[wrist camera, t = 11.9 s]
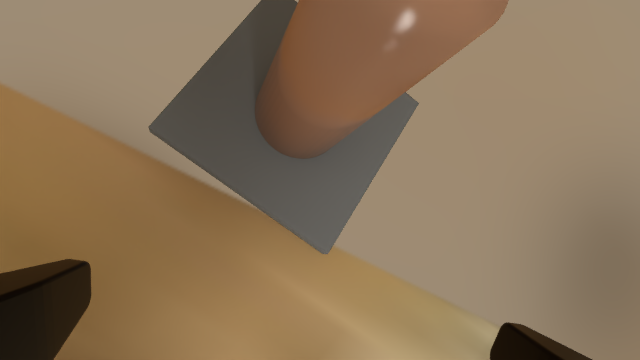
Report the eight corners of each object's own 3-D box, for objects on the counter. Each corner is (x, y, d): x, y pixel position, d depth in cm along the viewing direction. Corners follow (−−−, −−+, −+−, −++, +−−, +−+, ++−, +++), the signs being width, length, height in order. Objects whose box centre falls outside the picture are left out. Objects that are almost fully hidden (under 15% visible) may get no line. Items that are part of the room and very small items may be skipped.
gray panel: (322, 254, 21) (327, 253, 21) (149, 131, 20) (148, 126, 19) (412, 107, 25) (418, 103, 24) (272, -7, 23) (275, -16, 22)
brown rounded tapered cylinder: (279, 172, 21) (399, 63, 9) (239, 87, 21) (305, -129, 9) (356, 139, 22) (539, 12, 11) (318, 61, 23) (459, -148, 11)
